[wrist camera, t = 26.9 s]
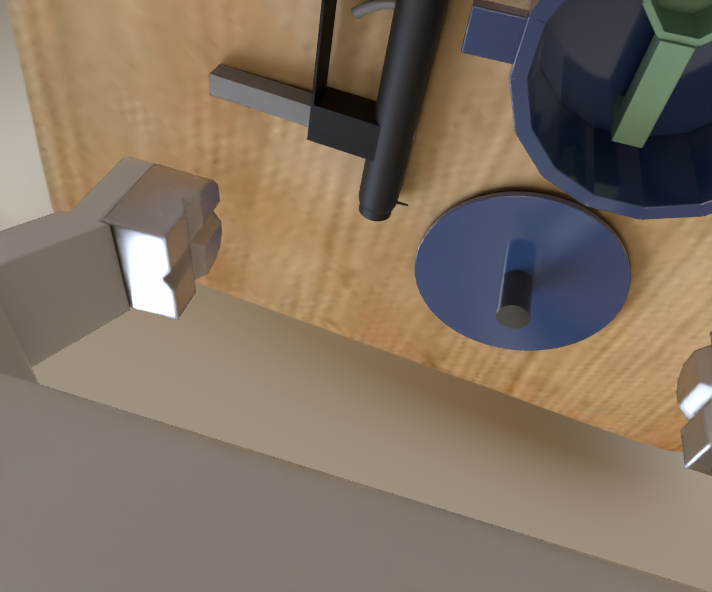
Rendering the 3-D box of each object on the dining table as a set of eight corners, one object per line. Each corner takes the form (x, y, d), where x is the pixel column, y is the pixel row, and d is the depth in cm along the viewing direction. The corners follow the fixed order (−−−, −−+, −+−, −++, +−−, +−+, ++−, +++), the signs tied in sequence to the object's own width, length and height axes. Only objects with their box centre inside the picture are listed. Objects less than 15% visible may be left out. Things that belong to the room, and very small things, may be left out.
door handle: (207, 167, 48) (401, 233, 46) (195, -135, 33) (480, -55, 31) (226, 145, 50) (412, 207, 48) (223, -147, 35) (491, -73, 33)
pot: (526, -193, 30) (512, -161, 24) (990, -104, 27) (1087, -48, 22) (452, 102, 41) (431, 167, 36) (774, 179, 39) (804, 261, 34)
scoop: (670, -98, 30) (677, -76, 28) (773, -77, 30) (791, -53, 27) (584, 102, 38) (583, 134, 36) (664, 121, 38) (670, 155, 35)
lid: (440, 161, 45) (427, 203, 41) (671, 220, 43) (679, 269, 40) (402, 311, 57) (389, 353, 53) (580, 360, 55) (580, 407, 52)
